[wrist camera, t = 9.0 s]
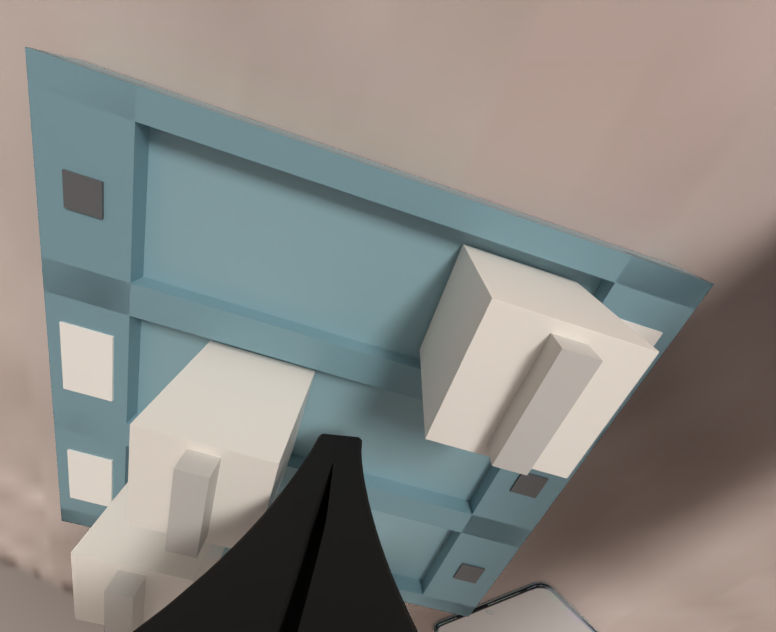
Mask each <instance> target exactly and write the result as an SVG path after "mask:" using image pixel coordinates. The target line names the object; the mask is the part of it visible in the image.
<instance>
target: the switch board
mask: <svg viewBox="0 0 776 632" xmlns="http://www.w3.org/2000/svg"><path fill="white" fill-rule="evenodd" d="M25 52H26V65H27V78H28V91H29V104H30V117H31V130H32V142H33V155H34V168H35V181H36V194H37V207H38V220H39V233H40V246H41V259H42V272H43V285H44V297H45V310H46V323H47V336H48V349H49V362H50V375H51V388H52V401H53V414H54V427H55V439H56V452H57V465H58V478H59V491H60V504H61V517H62V521H66V522H70V523H74V524H79V525H83V526H87V527H92V526H93V524H94V523H95V522H96V521H97V519H98V518H99V517H100V516H101V514H102V513H103V512H104V511H105V510H106V508H107V507H108V506H109V505H110V503H111V502H112V501H113V500H114V498H115V497H116V496H117V495H118V493H119V492H120V491H121V490H122V489H123V487H124V486H125V485H126V484H127V482H128V468H129V438H130V424H131V423H132V422H133V421H134V420H135V418H136V417H137V416H138V415H139V414H140V413H141V412H142V411H143V410H144V409H145V408H146V407H147V406H148V405H149V404H150V403H151V402H152V401H153V400H154V399H155V398H156V397H157V396H158V395H159V394H160V393H161V392H162V390H163V389H164V388H165V387H166V386H167V385H168V384H169V383H170V382H171V381H172V380H173V379H174V378H175V377H176V376H177V375H178V374H179V373H180V372H181V371H182V370H183V369H184V368H185V367H186V366H187V365H188V364H189V362H190V361H191V360H192V359H193V358H194V357H195V356H196V355H197V354H198V353H199V352H200V351H201V350H202V349H203V348H204V347H205V346H206V345H207V344H208V343H209V342H210V341H214V342H218V343H221V344H225V345H228V346H231V347H235V348H238V349H242V350H245V351H249V352H252V353H256V354H259V355H263V356H266V357H269V358H273V359H276V360H280V361H283V362H287V363H290V364H294V365H297V366H301V367H304V368H307V369H311V370H314V371H315V374H314V377H313V381H312V384H311V388H310V391H309V395H308V398H307V402H306V405H305V409H304V413H303V416H302V420H301V423H300V427H299V430H298V434H297V437H296V441H295V444H294V448H293V451H292V453H291V456H290V459H289V462H288V464H287V467H286V470H285V473H284V475H283V478H282V481H281V484H280V486H279V489H278V492H277V495H276V498H277V497H278V496H279V494H280V493H281V492H282V491H283V489H284V488H285V487H286V486H287V484H288V483H289V481H290V480H291V479H292V477H293V476H294V475H295V473H296V472H297V470H298V469H299V468H300V466H301V465H302V463H303V462H304V460H305V459H306V457H307V456H308V454H309V452H310V451H311V449H312V448H313V446H314V444H315V442H316V440H317V439H318V437H319V436H320V435H321V434H332V435H342V436H352V437H359V438H360V439H361V440H362V465H363V474H364V480H365V485H366V490H367V495H368V500H369V504H370V508H371V512H372V516H373V519H374V523H375V526H376V530H377V533H378V536H379V539H380V542H381V545H382V548H383V551H384V554H385V557H386V560H387V562H388V565H389V568H390V570H391V573H392V575H393V578H394V580H395V583H396V585H397V587H398V589H399V592H400V594H401V596H402V599H403V601H404V602H407V603H412V604H416V605H420V606H424V607H428V608H433V609H437V610H441V611H445V612H450V613H454V614H458V615H462V616H466V617H469V616H470V614H471V613H472V612H473V610H474V609H475V608H476V606H477V605H478V604H479V602H480V601H481V599H482V598H483V597H484V595H485V594H486V593H487V591H488V590H489V589H490V587H491V586H492V585H493V583H494V582H495V580H496V579H497V578H498V576H499V575H500V574H501V572H502V571H503V570H504V568H505V567H506V566H507V564H508V563H509V561H510V560H511V559H512V557H513V556H514V555H515V553H516V552H517V551H518V549H519V548H520V547H521V545H522V544H523V542H524V541H525V540H526V538H527V537H528V536H529V534H530V533H531V532H532V530H533V529H534V528H535V526H536V525H537V523H538V522H539V521H540V519H541V518H542V517H543V515H544V514H545V513H546V511H547V510H548V509H549V507H550V506H551V504H552V503H553V502H554V500H555V499H556V498H557V496H558V495H559V494H560V492H561V491H562V490H563V488H564V487H565V485H566V484H567V483H568V481H569V480H570V479H571V477H572V476H573V475H574V473H575V472H576V471H577V469H578V468H579V466H580V465H581V464H582V462H583V461H584V460H585V458H586V457H587V456H588V454H589V453H590V452H591V450H592V449H593V448H594V446H595V445H596V443H597V442H598V441H599V439H600V438H601V437H602V435H603V434H604V433H605V431H606V430H607V429H608V427H609V426H610V424H611V423H612V422H613V420H614V419H615V418H616V416H617V415H618V414H619V412H620V411H621V410H622V408H623V407H624V405H625V404H626V403H627V401H628V400H629V399H630V397H631V396H632V395H633V393H634V392H635V391H636V389H637V388H638V386H639V385H640V384H641V382H642V381H643V380H644V378H645V377H646V376H647V374H648V373H649V372H650V370H651V369H652V367H653V366H654V365H655V363H656V362H657V361H658V359H659V358H660V357H661V355H662V354H663V353H664V351H665V350H666V348H667V347H668V346H669V344H670V343H671V342H672V340H673V339H674V338H675V336H676V335H677V334H678V332H679V331H680V329H681V328H682V327H683V325H684V324H685V323H686V321H687V320H688V319H689V317H690V316H691V315H692V313H693V312H694V310H695V309H696V308H697V306H698V305H699V304H700V302H701V301H702V300H703V298H704V297H705V296H706V294H707V293H708V291H709V290H710V289H711V287H712V286H713V285H714V284H712V283H710V282H708V281H706V280H704V279H702V278H700V277H698V276H696V275H694V274H691V273H689V272H687V271H685V270H683V269H681V268H679V267H677V266H674V265H671V264H668V263H665V262H662V261H660V260H657V259H654V258H651V257H648V256H645V255H642V254H639V253H636V252H634V251H631V250H628V249H625V248H622V247H619V246H616V245H613V244H610V243H608V242H605V241H602V240H599V239H596V238H593V237H590V236H587V235H584V234H582V233H579V232H576V231H573V230H570V229H567V228H564V227H561V226H558V225H556V224H553V223H550V222H547V221H544V220H541V219H538V218H535V217H532V216H530V215H527V214H524V213H521V212H518V211H515V210H512V209H509V208H506V207H504V206H501V205H498V204H495V203H492V202H489V201H486V200H483V199H480V198H478V197H475V196H472V195H469V194H466V193H463V192H460V191H457V190H454V189H452V188H449V187H446V186H443V185H440V184H437V183H434V182H431V181H428V180H426V179H423V178H420V177H417V176H414V175H411V174H408V173H405V172H402V171H399V170H397V169H394V168H391V167H388V166H385V165H382V164H379V163H376V162H373V161H371V160H368V159H365V158H362V157H359V156H356V155H353V154H350V153H347V152H345V151H342V150H339V149H336V148H333V147H330V146H327V145H324V144H321V143H319V142H316V141H313V140H310V139H307V138H304V137H301V136H298V135H295V134H293V133H290V132H287V131H284V130H281V129H278V128H275V127H272V126H269V125H267V124H264V123H261V122H258V121H255V120H252V119H249V118H246V117H243V116H241V115H238V114H235V113H232V112H229V111H226V110H223V109H220V108H217V107H215V106H212V105H209V104H206V103H203V102H200V101H197V100H194V99H191V98H189V97H186V96H183V95H180V94H177V93H174V92H171V91H168V90H165V89H163V88H160V87H157V86H154V85H151V84H148V83H145V82H142V81H139V80H136V79H134V78H131V77H128V76H125V75H122V74H119V73H116V72H113V71H110V70H108V69H105V68H102V67H99V66H96V65H93V64H90V63H87V62H84V61H82V60H78V59H74V58H70V57H66V56H62V55H57V54H53V53H49V52H45V51H41V50H37V49H32V48H28V47H25ZM463 244H465V245H468V246H471V247H474V248H477V249H480V250H483V251H486V252H489V253H492V254H495V255H498V256H501V257H504V258H507V259H510V260H513V261H516V262H519V263H522V264H525V265H528V266H531V267H534V268H537V269H540V270H543V271H546V272H549V273H552V274H555V275H558V276H561V277H564V278H567V279H570V280H573V281H576V282H577V283H579V284H580V285H581V286H582V287H583V288H584V289H586V290H587V291H588V292H589V293H590V294H592V295H593V296H594V297H595V298H596V299H597V300H599V301H600V302H601V303H602V304H603V305H605V306H606V307H607V308H608V309H609V310H610V311H612V312H613V313H614V314H615V315H616V316H618V317H619V318H620V319H621V320H622V321H623V322H625V323H626V324H627V325H628V326H629V327H631V328H632V329H633V330H634V331H635V332H637V333H638V334H639V335H640V336H641V337H642V338H644V339H645V340H646V341H647V342H648V343H650V344H651V345H652V346H653V347H654V348H655V349H657V350H658V351H659V353H658V355H657V356H656V358H655V359H654V360H653V362H652V363H651V364H650V366H649V367H648V368H647V370H646V371H645V373H644V374H643V375H642V377H641V378H640V379H639V381H638V382H637V384H636V385H635V386H634V388H633V389H632V390H631V392H630V393H629V394H628V396H627V397H626V399H625V400H624V401H623V403H622V404H621V405H620V407H619V408H618V409H617V411H616V412H615V414H614V415H613V416H612V418H611V419H610V420H609V422H608V423H607V425H606V426H605V427H604V429H603V430H602V431H601V433H600V434H599V435H598V437H597V438H596V440H595V441H594V442H593V444H592V445H591V446H590V448H589V449H588V451H587V452H586V453H585V455H584V456H583V457H582V459H581V460H580V461H579V463H578V464H577V466H576V467H575V468H574V470H573V471H572V472H571V474H570V475H569V476H568V478H563V477H560V476H556V475H552V474H549V473H545V472H542V471H538V470H535V469H531V470H530V472H529V473H528V475H523V474H519V473H516V472H512V471H509V470H505V469H501V468H498V467H494V466H492V464H491V460H490V457H488V456H485V455H481V454H477V453H474V452H470V451H467V450H463V449H460V448H456V447H452V446H449V445H445V444H442V443H438V442H435V441H431V440H427V439H425V427H424V411H423V396H422V380H421V364H420V347H421V345H422V342H423V340H424V338H425V335H426V333H427V330H428V328H429V325H430V323H431V321H432V318H433V316H434V313H435V311H436V308H437V306H438V304H439V301H440V299H441V296H442V294H443V291H444V289H445V287H446V284H447V282H448V279H449V277H450V274H451V272H452V270H453V267H454V265H455V262H456V260H457V257H458V255H459V253H460V250H461V248H462V245H463ZM276 498H275V499H276ZM274 501H275V500H274ZM230 549H231V548H227V547H225V549H224V551H223V553H222V556H221V558H222V557H223V556H224V555H225V554H226V553H227V552H228V551H229V550H230Z"/></svg>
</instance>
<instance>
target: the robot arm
mask: <svg viewBox="0 0 776 632" xmlns="http://www.w3.org/2000/svg"><path fill="white" fill-rule="evenodd" d="M133 632H418V631H417V629H416V627H415V625H414V623H413V621H412V619H411V617H410V615H409V612H408V610H407V608H406V606H405V603H404V601H403V599H402V596H401V594H400V592H399V589H398V587H397V585H396V583H395V580H394V578H393V575H392V573H391V570H390V568H389V565H388V562H387V560H386V557H385V554H384V551H383V548H382V545H381V542H380V539H379V536H378V533H377V530H376V526H375V523H374V519H373V516H372V512H371V508H370V504H369V500H368V495H367V490H366V485H365V480H364V474H363V465H362V440H361V439H360V438H359V437H352V436H342V435H332V434H321V435H320V436H319V437H318V439H317V440H316V442H315V444H314V446H313V448H312V449H311V451H310V452H309V454H308V456H307V457H306V459H305V460H304V462H303V463H302V465H301V466H300V468H299V469H298V470H297V472H296V473H295V475H294V476H293V477H292V479H291V480H290V481H289V483H288V484H287V486H286V487H285V488H284V489H283V491H282V492H281V493H280V494H279V496H278V497H277V498H276V499H275V501H274V502H273V503H272V504H271V506H270V507H269V508H268V509H267V510H266V512H265V513H264V514H263V515H262V516H261V517H260V518H259V520H258V521H257V522H256V523H255V524H254V525H253V526H252V527H251V528H250V529H249V530H248V532H247V533H246V534H245V535H244V536H243V537H242V538H241V539H240V540H239V541H238V542H237V543H236V544H235V545H234V546H233V547H232V548H231V549H230V550H229V551H228V552H227V553H226V554H225V555H224V556H223V557H222V558H221V559H220V560H219V561H217V562H216V563H215V564H214V565H213V566H212V567H211V568H210V569H209V570H208V571H207V572H206V573H204V574H203V575H202V576H201V577H200V578H199V579H197V580H196V581H195V582H194V583H193V584H192V585H190V586H189V587H188V588H187V589H186V590H185V591H183V592H182V593H181V594H180V595H179V596H178V597H176V598H175V599H174V600H173V601H172V602H170V603H169V604H168V605H167V606H165V607H164V608H163V609H162V610H160V611H159V612H158V613H156V614H155V615H154V616H152V617H151V618H150V619H149V620H147V621H146V622H145V623H143V624H142V625H141V626H139V627H138V628H137V629H135V630H134V631H133Z"/></svg>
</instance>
